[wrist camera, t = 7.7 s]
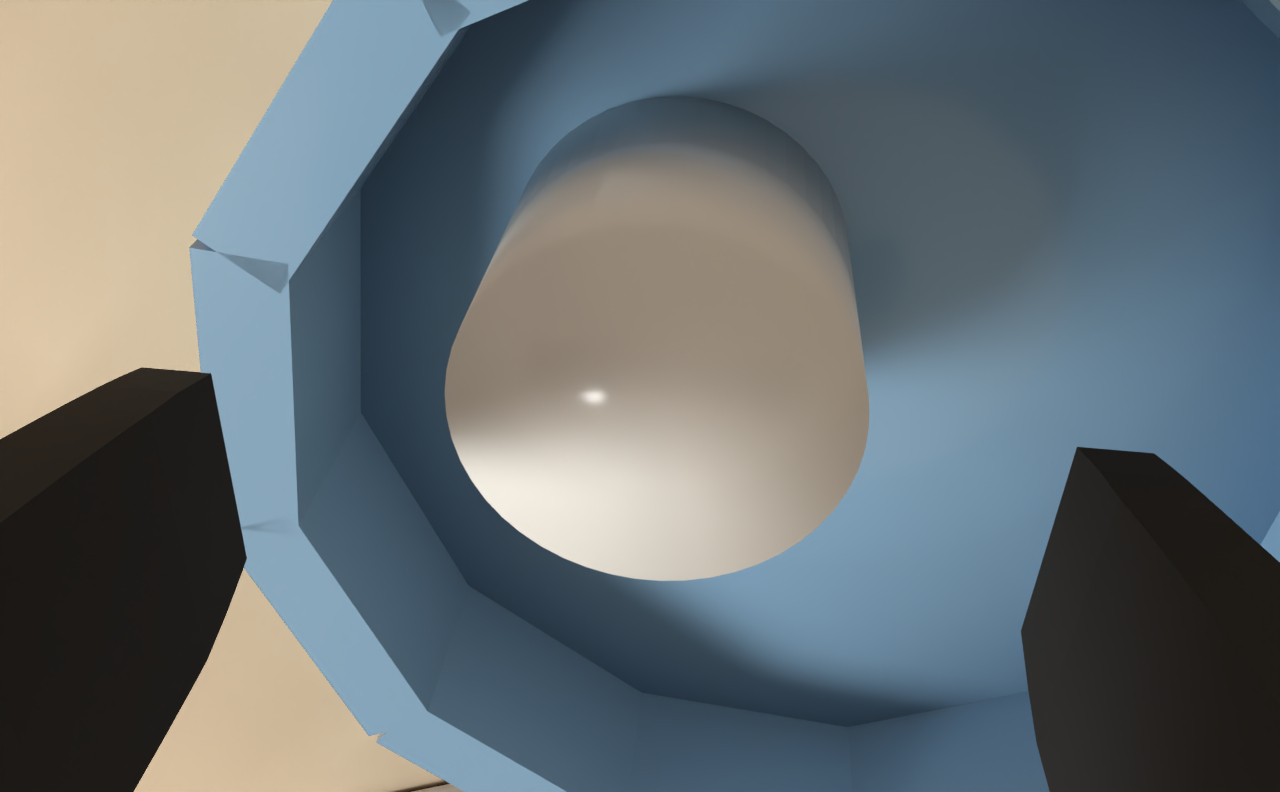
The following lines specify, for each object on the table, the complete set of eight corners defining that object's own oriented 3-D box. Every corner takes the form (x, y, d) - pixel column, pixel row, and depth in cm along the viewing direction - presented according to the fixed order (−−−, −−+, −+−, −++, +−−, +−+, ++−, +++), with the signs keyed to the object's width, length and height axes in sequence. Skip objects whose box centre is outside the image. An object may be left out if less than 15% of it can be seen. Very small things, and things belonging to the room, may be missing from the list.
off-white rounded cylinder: (518, 76, 13) (444, 197, 10) (880, 119, 12) (913, 256, 10) (507, 381, 15) (444, 553, 12) (816, 420, 15) (826, 604, 12)
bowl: (128, 403, 16) (10, 537, 14) (782, -646, 10) (785, -756, 7) (852, 845, 20) (864, 1015, 18) (1686, 308, 13) (1898, 459, 11)
